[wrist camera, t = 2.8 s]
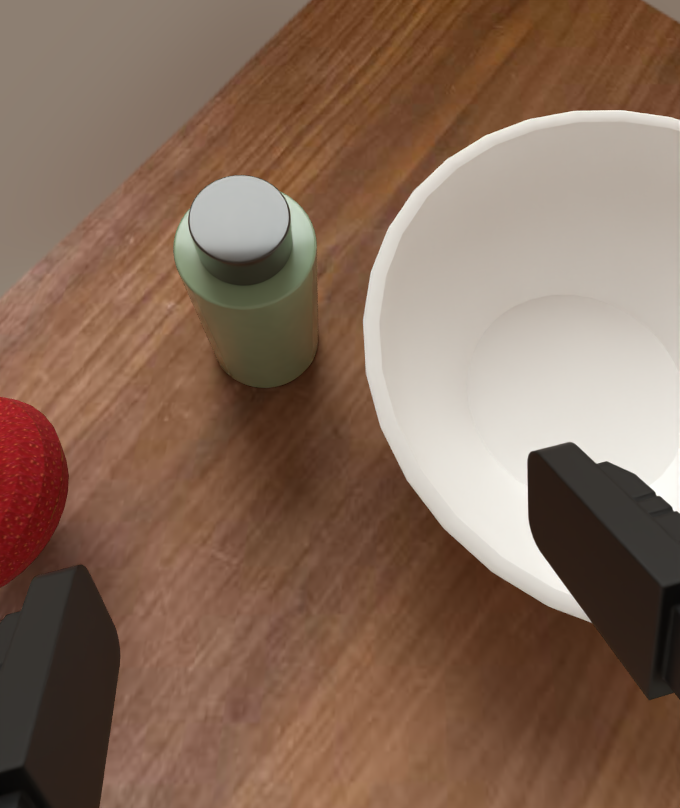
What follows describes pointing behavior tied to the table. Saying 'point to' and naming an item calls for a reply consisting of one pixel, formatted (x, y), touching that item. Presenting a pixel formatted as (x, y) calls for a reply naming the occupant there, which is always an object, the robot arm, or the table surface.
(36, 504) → the strawberry
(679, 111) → the table surface
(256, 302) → the pepper shaker
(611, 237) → the bowl
